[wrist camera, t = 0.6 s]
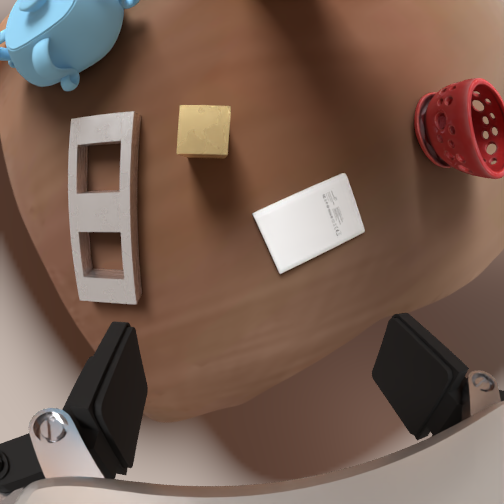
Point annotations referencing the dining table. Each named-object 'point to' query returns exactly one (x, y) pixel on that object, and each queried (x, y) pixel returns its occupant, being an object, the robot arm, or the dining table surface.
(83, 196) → the grey slotted plate
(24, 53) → the decorative pot
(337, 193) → the external hard drive
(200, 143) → the gold rectangular block
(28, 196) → the dining table surface
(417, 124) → the plant pot
